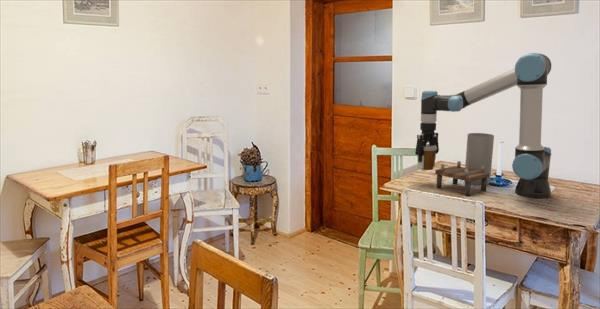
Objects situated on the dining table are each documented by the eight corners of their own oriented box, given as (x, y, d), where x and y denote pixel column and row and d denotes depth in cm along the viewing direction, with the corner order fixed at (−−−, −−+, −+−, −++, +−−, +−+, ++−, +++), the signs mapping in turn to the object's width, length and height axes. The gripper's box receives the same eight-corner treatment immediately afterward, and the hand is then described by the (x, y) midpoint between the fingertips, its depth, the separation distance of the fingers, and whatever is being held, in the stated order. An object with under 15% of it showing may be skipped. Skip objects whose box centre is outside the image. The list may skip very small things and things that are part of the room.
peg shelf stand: (487, 191, 227) (490, 166, 225) (468, 196, 218) (470, 171, 216) (454, 183, 242) (455, 160, 240) (434, 187, 233) (435, 163, 231)
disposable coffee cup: (438, 170, 234) (439, 146, 231) (419, 170, 234) (420, 146, 232) (433, 166, 243) (434, 143, 241) (414, 166, 243) (415, 143, 241)
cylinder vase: (462, 184, 241) (465, 135, 236) (466, 178, 251) (469, 132, 247) (488, 187, 235) (492, 137, 230) (491, 181, 246) (495, 134, 241)
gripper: (435, 120, 243) (433, 163, 247) (408, 123, 231) (406, 168, 235) (447, 121, 237) (445, 165, 241) (420, 124, 225) (418, 171, 229)
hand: (426, 167), depth 238 cm, fingers closed on disposable coffee cup, 8 cm apart
